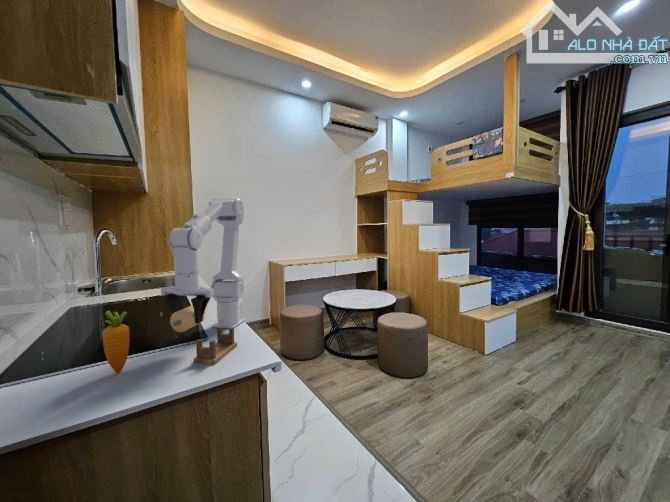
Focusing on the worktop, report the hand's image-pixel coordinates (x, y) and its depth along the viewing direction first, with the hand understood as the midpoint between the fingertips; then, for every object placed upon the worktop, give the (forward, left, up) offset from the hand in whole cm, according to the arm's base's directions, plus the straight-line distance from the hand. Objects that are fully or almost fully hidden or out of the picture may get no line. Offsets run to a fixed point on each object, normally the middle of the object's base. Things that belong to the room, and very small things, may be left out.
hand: (188, 321), depth 77 cm
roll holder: (0, +8, -8) cm, 12 cm away
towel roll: (0, 0, +1) cm, 1 cm away
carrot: (+13, -9, -9) cm, 18 cm away
